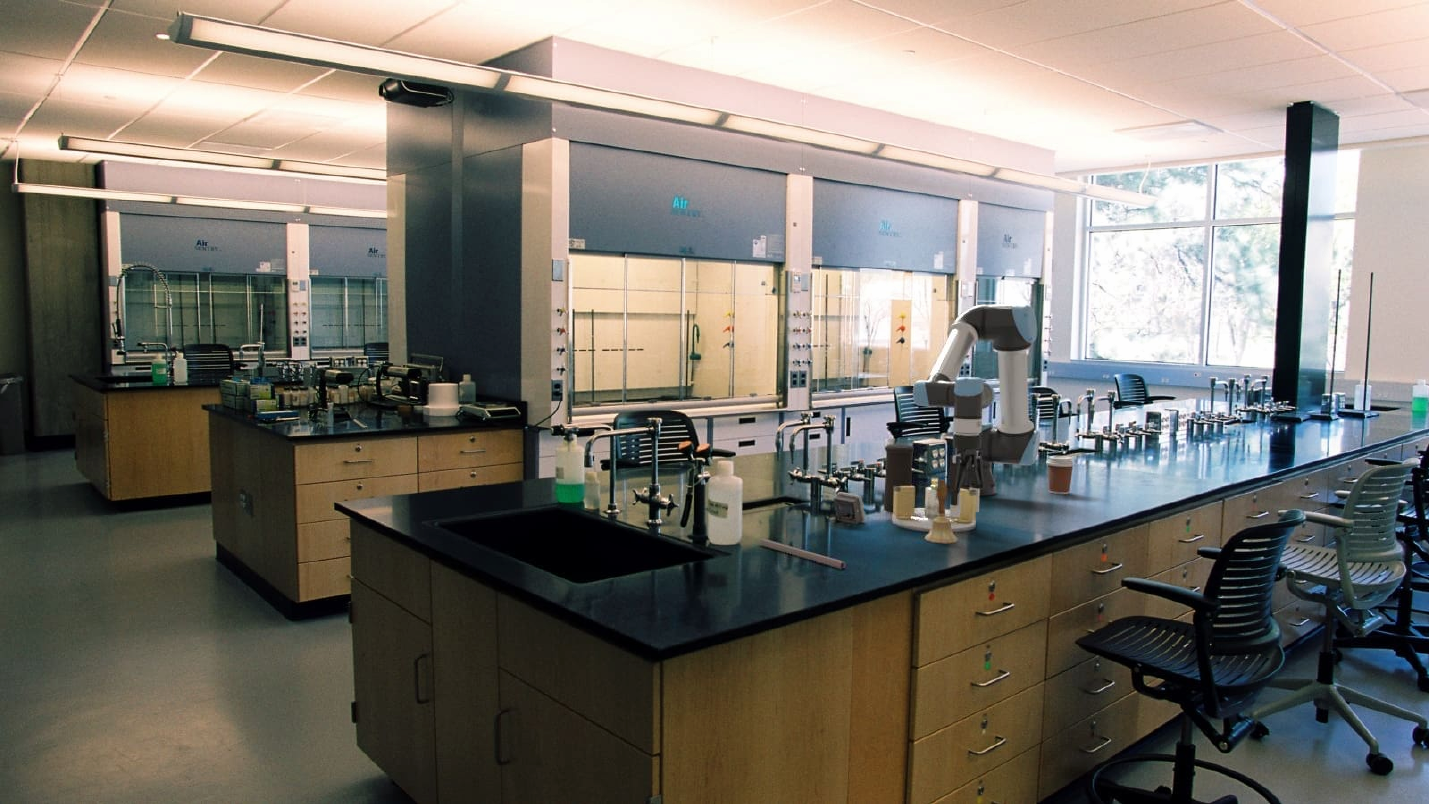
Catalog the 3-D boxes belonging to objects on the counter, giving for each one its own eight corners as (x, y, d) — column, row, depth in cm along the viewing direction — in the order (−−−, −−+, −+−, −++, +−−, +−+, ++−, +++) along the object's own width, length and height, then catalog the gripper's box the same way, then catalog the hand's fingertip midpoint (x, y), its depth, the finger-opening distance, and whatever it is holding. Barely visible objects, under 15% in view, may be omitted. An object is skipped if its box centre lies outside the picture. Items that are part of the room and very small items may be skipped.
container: (915, 508, 276) (916, 443, 275) (908, 513, 268) (910, 447, 267) (887, 505, 280) (888, 441, 278) (879, 510, 272) (881, 445, 270)
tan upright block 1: (908, 515, 256) (909, 484, 255) (916, 518, 251) (917, 487, 251) (890, 516, 254) (891, 485, 253) (897, 519, 250) (898, 488, 249)
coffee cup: (1069, 490, 308) (1070, 455, 307) (1077, 495, 299) (1078, 459, 298) (1041, 489, 309) (1043, 455, 308) (1048, 494, 300) (1050, 459, 299)
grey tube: (839, 570, 207) (839, 562, 207) (760, 547, 228) (761, 539, 228) (845, 569, 209) (845, 560, 208) (766, 546, 230) (766, 538, 229)
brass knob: (941, 511, 261) (942, 481, 261) (926, 510, 262) (927, 480, 262) (941, 507, 267) (942, 478, 266) (926, 506, 268) (927, 477, 267)
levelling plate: (880, 515, 265) (881, 479, 264) (953, 513, 269) (954, 477, 268) (910, 534, 242) (912, 494, 241) (990, 531, 246) (991, 492, 245)
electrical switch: (866, 522, 256) (864, 494, 255) (856, 526, 253) (854, 498, 251) (842, 518, 262) (841, 490, 261) (832, 522, 259) (831, 494, 257)
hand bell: (951, 545, 231) (953, 483, 229) (920, 540, 235) (922, 480, 234) (961, 538, 238) (963, 478, 236) (930, 534, 242) (932, 475, 241)
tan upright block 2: (951, 520, 249) (952, 489, 248) (959, 518, 252) (960, 487, 252) (970, 524, 245) (971, 492, 244) (977, 521, 248) (978, 489, 248)
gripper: (959, 438, 236) (956, 522, 238) (999, 431, 252) (996, 510, 254) (933, 435, 241) (931, 517, 243) (974, 429, 257) (971, 506, 259)
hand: (964, 513), depth 249 cm, fingers open, 10 cm apart
